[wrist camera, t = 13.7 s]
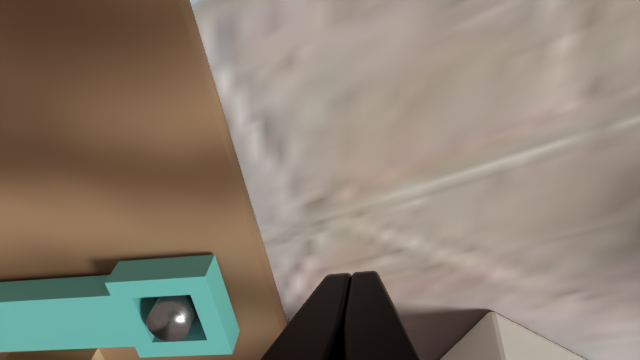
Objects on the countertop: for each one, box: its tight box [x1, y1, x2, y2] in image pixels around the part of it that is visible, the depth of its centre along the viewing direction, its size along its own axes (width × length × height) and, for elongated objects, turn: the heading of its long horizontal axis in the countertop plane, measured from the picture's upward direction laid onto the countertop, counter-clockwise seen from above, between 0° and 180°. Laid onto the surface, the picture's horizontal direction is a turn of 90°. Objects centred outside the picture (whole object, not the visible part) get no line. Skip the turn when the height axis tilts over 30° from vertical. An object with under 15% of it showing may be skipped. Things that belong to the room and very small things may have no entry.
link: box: [0, 255, 240, 358], centre depth 26 cm, size 20×4×1 cm, turn 100°
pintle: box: [146, 295, 197, 342], centre depth 25 cm, size 2×2×3 cm
